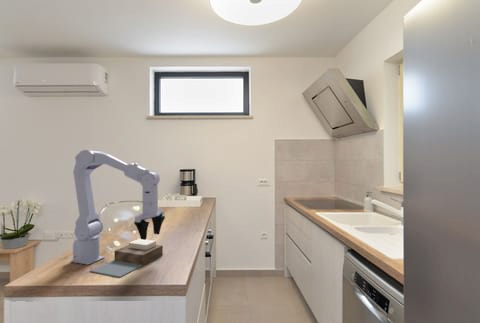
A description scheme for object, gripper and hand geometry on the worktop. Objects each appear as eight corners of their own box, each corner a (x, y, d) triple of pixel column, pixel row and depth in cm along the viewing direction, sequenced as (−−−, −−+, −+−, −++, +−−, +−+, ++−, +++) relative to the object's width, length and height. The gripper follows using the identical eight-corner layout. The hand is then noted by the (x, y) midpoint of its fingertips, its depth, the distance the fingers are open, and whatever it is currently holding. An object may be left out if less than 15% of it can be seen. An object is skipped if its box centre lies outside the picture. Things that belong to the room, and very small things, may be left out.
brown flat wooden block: (114, 260, 105) (114, 250, 105) (136, 251, 116) (136, 242, 116) (142, 265, 100) (142, 255, 100) (162, 255, 111) (162, 245, 111)
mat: (90, 271, 95) (90, 270, 95) (114, 261, 105) (114, 260, 105) (120, 277, 90) (120, 276, 90) (142, 265, 100) (142, 264, 100)
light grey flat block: (128, 247, 109) (128, 242, 109) (139, 243, 114) (139, 238, 114) (146, 250, 105) (146, 245, 105) (156, 245, 111) (156, 240, 111)
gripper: (145, 205, 96) (145, 243, 96) (169, 200, 110) (169, 232, 110) (130, 204, 99) (130, 240, 99) (156, 199, 112) (156, 231, 112)
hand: (150, 236), depth 104 cm, fingers open, 7 cm apart
